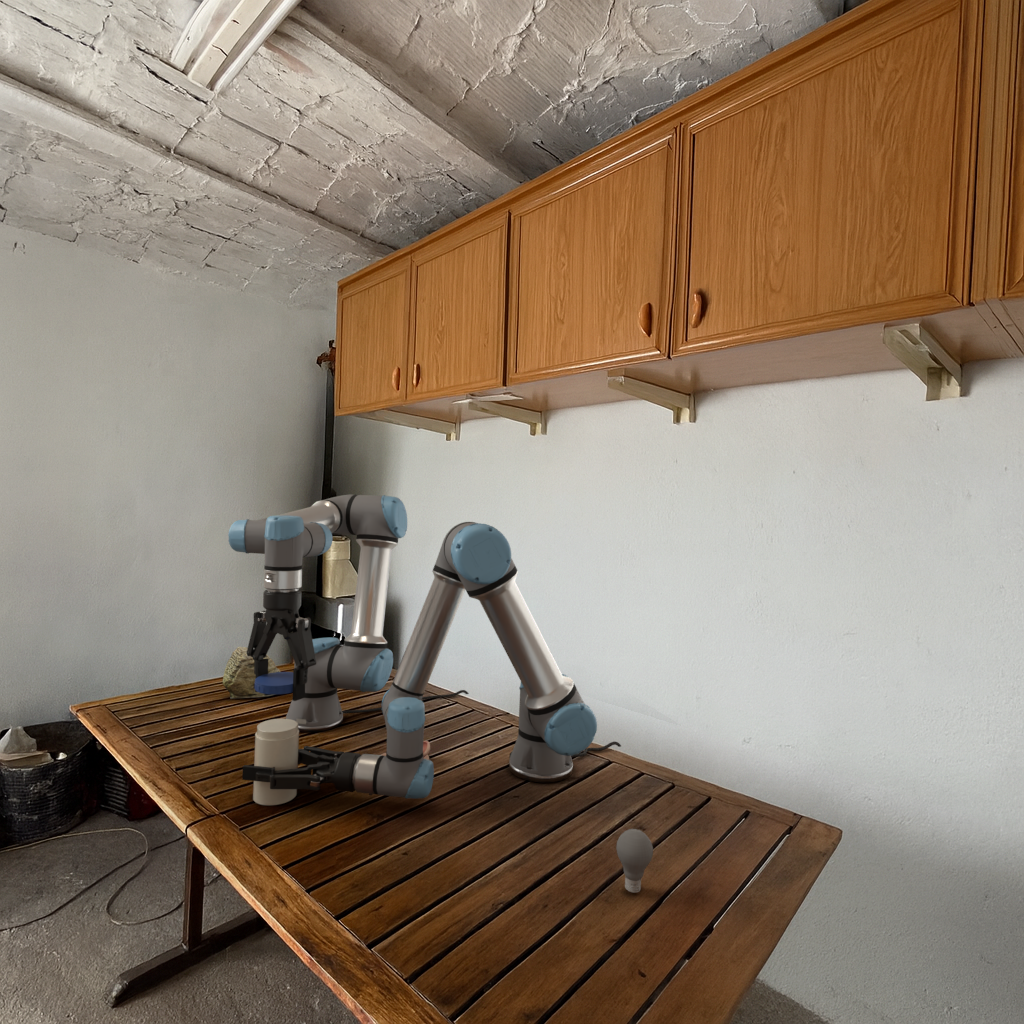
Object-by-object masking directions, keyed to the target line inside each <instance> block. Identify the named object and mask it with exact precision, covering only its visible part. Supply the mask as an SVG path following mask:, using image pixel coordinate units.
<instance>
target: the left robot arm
mask: <svg viewBox="0 0 1024 1024" xmlns="http://www.w3.org/2000/svg"><path fill="white" fill-rule="evenodd" d="M407 531H408V513H407V510H406V507H405V504H404V501H402V499H400V497H397V496H392V495H385V494H382V495H377V494H376V495H375V494H350V493H349V494H343V495H337V496H333V497H330V498H329V497H328V498H326V499H322V500H317V501H315V502H314V503H313V504H312V505H311V506H308V507H305V508H301V509H296V510H292V511H288V512H285V513H281V514H277V515H269V516H268V517H265V518H260V519H238V520H235V521H234V522H233V523H232V524H231V525H230V527H229V530H228V534H227V536H228V544H229V547H230V548H231V549H232V550H233V551H235V552H237V553H244V554H261V555H264V565H263V566H264V569H263V588H264V589H265V590H264V591H263V593H262V594H263V595H262V596H263V597H262V598H263V599H262V607H263V609H264V610H260V611H254V613H253V624H252V629H251V632H250V636H249V641H248V645H247V648H248V649H247V656H251V657H253V660H254V674H255V675H256V677H255V679H256V678H257V677H259V676H261V675H264V674H268V659H264V658H266V657H268V656H269V655H268V652H269V650H270V648H271V646H272V644H273V642H274V640H275V638H276V635H277V634H279V635H280V636H282V637H283V639H284V640H286V642H287V645H288V648H289V650H290V654H291V656H292V659H293V662H294V668H293V669H292V672H293V692H292V699H291V702H290V704H289V708H288V711H287V713H286V715H285V719H291V720H294V721H296V722H297V723H298V729H299V732H301V733H316V732H325V731H329V730H332V729H335V728H337V727H339V726H340V725H342V723H343V722H344V715H345V714H362V713H363V714H364V713H371V712H379V711H382V706H381V707H374V708H366V709H350V710H349V709H348V710H343V709H342V706H341V702H340V699H339V695H338V689H339V690H347V691H348V690H349V691H359V692H362V693H366V692H367V693H369V692H370V693H377V692H379V691H381V690H382V689H383V688H384V687H385V685H386V684H387V683H388V681H389V679H390V676H391V673H392V669H393V666H394V654H393V651H392V650H391V649H389V648H388V641H387V639H385V637H384V626H385V615H386V606H387V599H388V588H389V578H390V570H391V569H390V568H391V562H392V561H391V560H392V553H393V552H392V551H393V550H394V548H396V547H397V546H398V545H399V539H402V538H404V537H405V536H406V535H407ZM333 534H339V535H351V536H356V538H355V542H356V543H357V544H358V545H359V546H360V547H359V548H360V552H359V561H358V570H357V577H356V587H355V595H354V604H353V613H352V621H351V630H350V634H349V635H348V636H346V637H345V638H344V641H343V644H340V643H341V641H340V639H339V638H338V637H334V636H333V637H318V638H313V636H312V631H311V628H312V627H311V625H312V624H311V623H312V619H311V617H305V618H304V617H301V616H300V613H299V610H300V608H301V606H302V591H301V590H300V589H301V588H302V586H303V559H305V558H310V557H318V556H320V555H323V554H325V553H327V552H328V551H329V550H330V548H331V546H332V544H333ZM266 654H267V655H268V656H267V655H266ZM255 692H257V691H255ZM462 693H464V695H469V692H468V691H467V690H465V689H460V690H458V691H456V692H455V693H447V694H435V695H427V696H423V697H422V700H421V701H424V700H431V699H441V698H450V697H455V696H458V695H460V694H462Z"/></svg>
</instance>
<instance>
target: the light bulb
mask: <svg viewBox="0 0 1024 1024" xmlns="http://www.w3.org/2000/svg"><path fill="white" fill-rule="evenodd" d="M615 849H616V854H617V857H618V859H619V861H620V863H621V865H622V867H623V873H624V874H623V875H624V876H625V878H624V888H625V890H627V891H628V892H630V893H634V894H635V893H639V892H640V891H641V889H642V887H641V886H642V879H643V877H644V875H645V871H646V868H647V867H648V866H649V864H650V863H651V861H652V859H653V855H654V847H653V843H652V841H651V838H649V836H648V835H647V834H646V833H645V832H643V831H642V830H641V829H636V828H629V829H627V830H625V831H623V832H622V833H621V834H620V835H619V837H618V839H617V841H616V847H615Z"/></svg>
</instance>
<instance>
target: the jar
mask: <svg viewBox="0 0 1024 1024" xmlns="http://www.w3.org/2000/svg"><path fill="white" fill-rule="evenodd" d="M299 745H300V731H299V729H298V723H297V722H296V721H294V720H291V719H286V718H272V719H268V720H265V721H262V722H259V723H258V724H257V726H256V732H255V734H254V756H253V758H254V759H253V766H260V767H270V768H273V767H275V770H285V769H296V768H299V765H298V749H300V748H299ZM252 782H253V783H252V784H253V786H252V800H253V801H254V802H255V804H258V805H261V806H278V805H282V804H285V803H288V802H290V801H292V800H293V799H295V798H296V796H297V794H298V789H270V782H261V781H252Z"/></svg>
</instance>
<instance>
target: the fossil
mask: <svg viewBox="0 0 1024 1024" xmlns="http://www.w3.org/2000/svg"><path fill="white" fill-rule="evenodd" d="M247 649H248V646H246V647H245V646H238V647H237V648H236V649H235V650H233V651H232V653H231V656H230V657H229V659H228V660H227V663H226V666H225V668H224V671H223V675H222V676H223V677H222V685H223V687H224V688H225V690H226V691H228V693H229V698H230V699H250V698H264V697H271V696H274V695H273V694H263V693H259V692H255V689H254V683H255V677H256V675H255V674H254V660H253V657H251V656H247ZM266 655H267V656H268V657H266V658H264V659H268V673H275V672H281V669H279V668H278V667H277V665H276V663H275V662H274V660H273V659H272V658H271V657H270V656H269V655H268V653H267V654H266Z"/></svg>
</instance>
